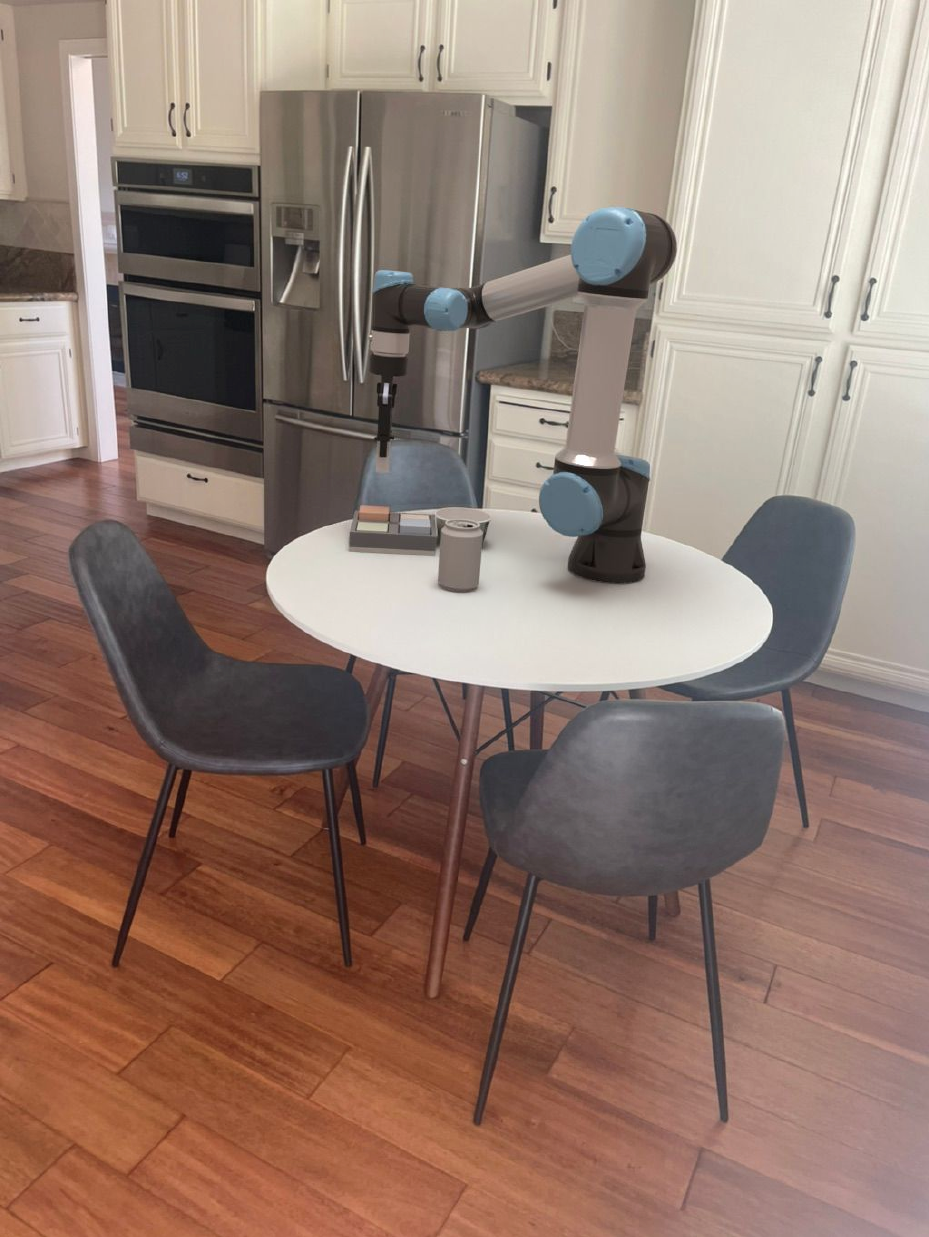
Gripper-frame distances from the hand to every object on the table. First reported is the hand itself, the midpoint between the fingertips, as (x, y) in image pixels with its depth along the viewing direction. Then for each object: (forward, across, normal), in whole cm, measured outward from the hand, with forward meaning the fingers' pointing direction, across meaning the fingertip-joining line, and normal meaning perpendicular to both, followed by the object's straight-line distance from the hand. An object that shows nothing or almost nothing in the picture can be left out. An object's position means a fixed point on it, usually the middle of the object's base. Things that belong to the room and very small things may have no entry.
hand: (382, 471), depth 194 cm
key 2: (+10, +1, -1) cm, 10 cm away
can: (+13, +31, +16) cm, 37 cm away
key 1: (+12, +9, -1) cm, 15 cm away
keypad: (+13, +5, +3) cm, 15 cm away
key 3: (+10, +9, +8) cm, 16 cm away
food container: (+13, +4, +17) cm, 22 cm away
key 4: (+12, +1, +7) cm, 14 cm away
